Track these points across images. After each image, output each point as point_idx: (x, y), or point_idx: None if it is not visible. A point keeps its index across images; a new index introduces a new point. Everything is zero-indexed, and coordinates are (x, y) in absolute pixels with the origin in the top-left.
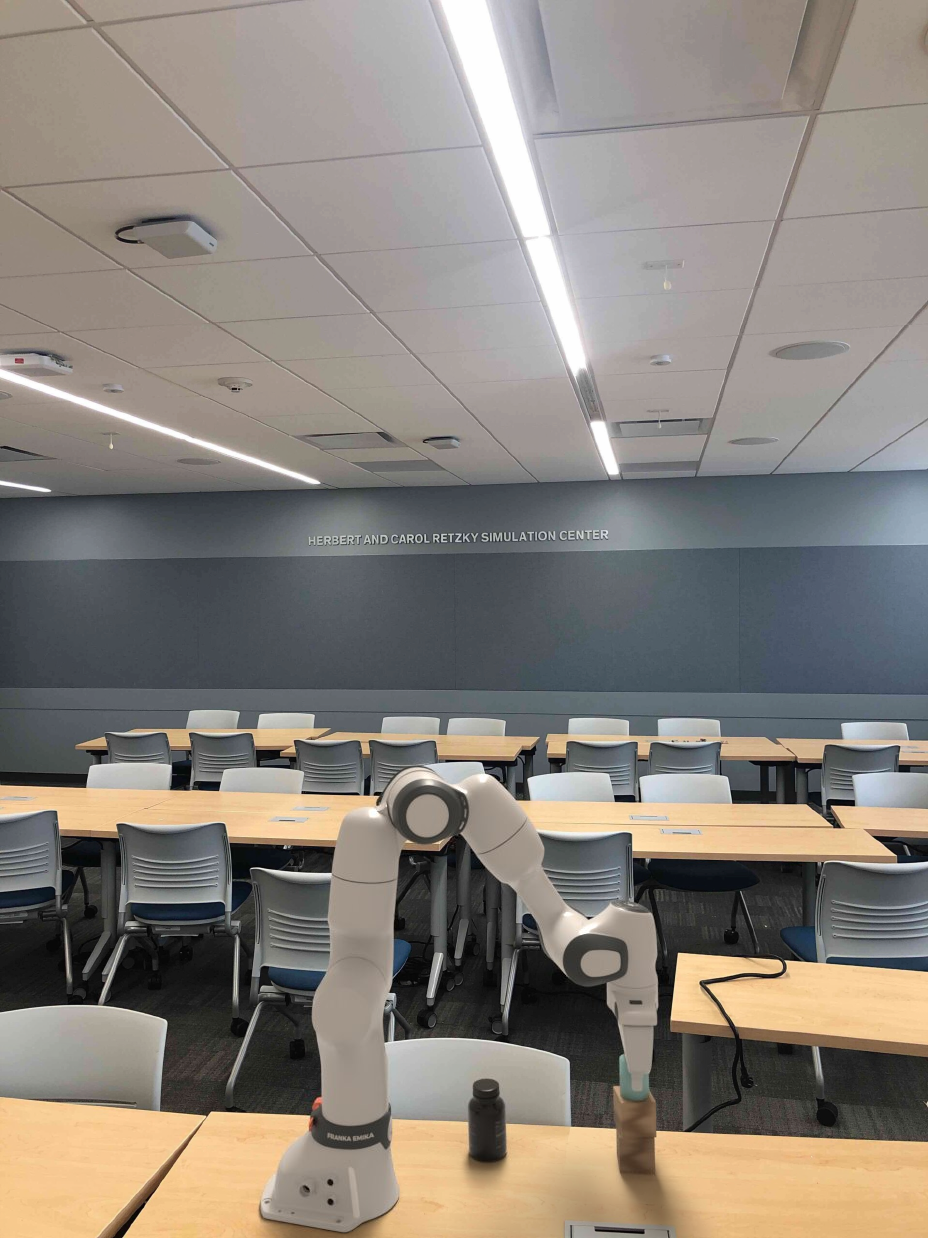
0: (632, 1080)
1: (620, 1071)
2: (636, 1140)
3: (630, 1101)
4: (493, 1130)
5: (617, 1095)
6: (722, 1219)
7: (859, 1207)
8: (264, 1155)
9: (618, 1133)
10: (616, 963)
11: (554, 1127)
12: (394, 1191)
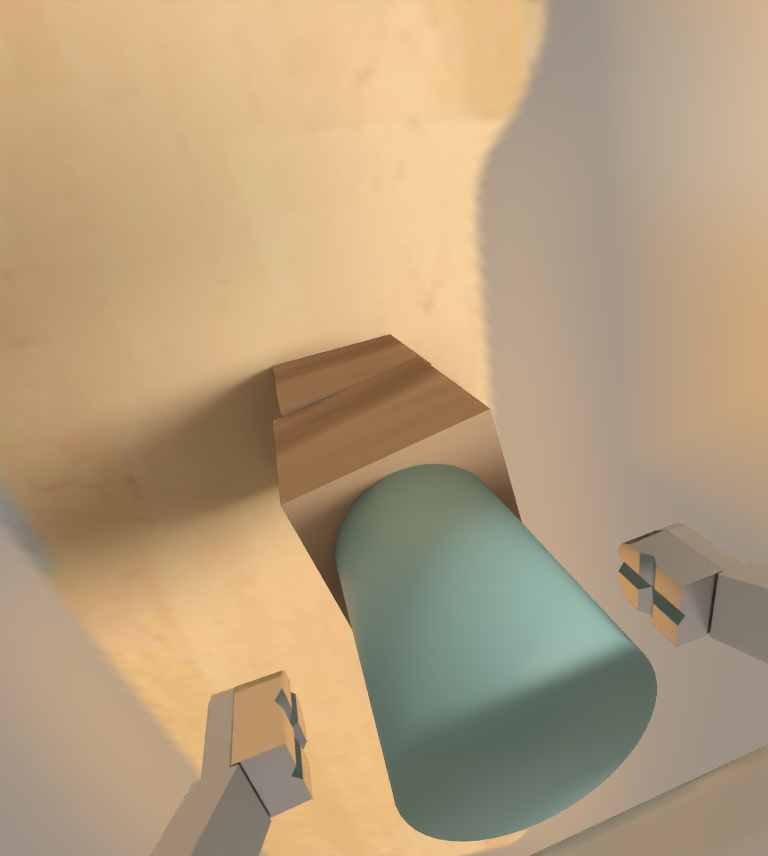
0: (196, 788)
1: (438, 585)
2: None
3: (325, 546)
4: None
5: (381, 458)
6: (158, 658)
7: (327, 826)
8: None
9: (313, 397)
10: None
11: (519, 39)
12: None
